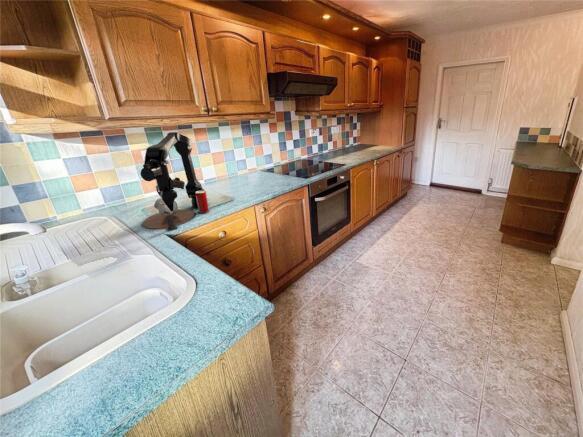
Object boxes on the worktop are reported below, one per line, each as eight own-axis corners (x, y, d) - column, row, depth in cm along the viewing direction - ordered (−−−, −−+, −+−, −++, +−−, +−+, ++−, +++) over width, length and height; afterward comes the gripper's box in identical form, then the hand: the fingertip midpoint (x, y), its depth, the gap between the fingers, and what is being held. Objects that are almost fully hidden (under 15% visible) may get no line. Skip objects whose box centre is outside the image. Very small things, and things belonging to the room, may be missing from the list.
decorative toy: (155, 208, 143) (143, 215, 124) (163, 192, 142) (153, 196, 123) (175, 217, 146) (167, 225, 127) (183, 202, 146) (176, 207, 127)
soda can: (211, 211, 144) (207, 190, 139) (202, 214, 140) (198, 193, 136) (205, 209, 147) (202, 189, 143) (197, 212, 144) (192, 191, 139)
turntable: (142, 216, 141) (139, 204, 139) (190, 207, 152) (187, 195, 149) (143, 236, 118) (138, 221, 115) (199, 223, 128) (196, 209, 126)
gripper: (185, 176, 112) (192, 209, 118) (176, 169, 126) (183, 200, 132) (157, 180, 106) (166, 215, 112) (151, 173, 121) (160, 205, 127)
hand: (170, 208), depth 121 cm, fingers open, 9 cm apart
